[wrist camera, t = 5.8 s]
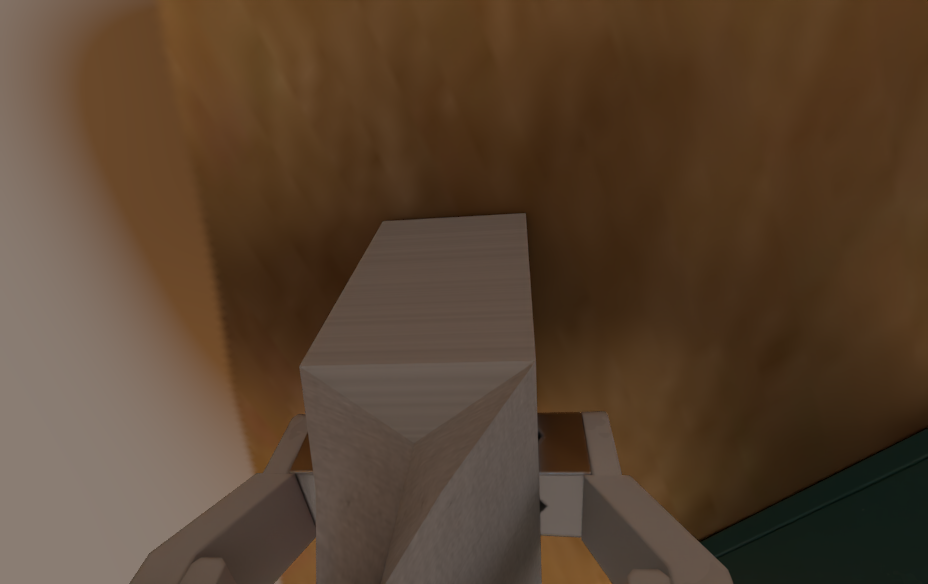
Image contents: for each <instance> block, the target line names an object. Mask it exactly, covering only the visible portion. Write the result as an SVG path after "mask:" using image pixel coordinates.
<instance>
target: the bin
mask: <svg viewBox="0 0 928 584" xmlns="http://www.w3.org/2000/svg"><path fill="white" fill-rule="evenodd" d="M700 543H701V544H702V545H703V546H704V547H705V548H706V549H707V550H708V551H709V552H710V553H711V554H712V555H713V556H714V557H715V558H716V559H717V560H719V561H720V562H721V563H722V564H723V565H724V566H725V567H726V568H727V569H728V571H729V573H730V576H731V579H732V581H733V584H928V428H927V429H925V430H923V431H921V432H919V433H917V434H915V435H913V436H911V437H909V438H907V439H905V440H903V441H901V442H899V443H897V444H895V445H893V446H891V447H889V448H887V449H885V450H883V451H881V452H879V453H877V454H875V455H873V456H871V457H869V458H867V459H865V460H863V461H861V462H859V463H857V464H855V465H853V466H851V467H849V468H847V469H845V470H843V471H841V472H839V473H837V474H835V475H833V476H831V477H829V478H827V479H825V480H823V481H821V482H819V483H817V484H815V485H813V486H811V487H809V488H807V489H805V490H803V491H801V492H799V493H797V494H795V495H793V496H791V497H789V498H787V499H785V500H783V501H781V502H779V503H777V504H775V505H773V506H771V507H769V508H767V509H765V510H763V511H761V512H759V513H757V514H755V515H753V516H751V517H749V518H747V519H745V520H743V521H741V522H739V523H737V524H735V525H733V526H731V527H729V528H727V529H725V530H723V531H721V532H719V533H717V534H715V535H713V536H711V537H709V538H707V539H705V540H703V541H701V542H700Z"/></svg>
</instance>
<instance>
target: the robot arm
mask: <svg viewBox="0 0 928 584" xmlns="http://www.w3.org/2000/svg"><path fill="white" fill-rule="evenodd" d="M537 424H538V463H539V503H540V535H543V536H564V537H582V541H583V542H584V544H585V545H586V547H587V548H588V549H589V551H590V552H591V554H592V555H593V556H594V558H595V559H596V561H597V562H598V564H599V565H600V566H601V568H602V569H603V571H604V572H605V574H606V575H607V576H608V578H609V579H610V581H611V582H612V583H613V584H733V581H732V579H731V576H730V573H729V571H728V569H727V568H726V567H725V566H724V565H723V564H722V563H721V562H720V561H719V560H717V559H716V558H715V557H714V556H713V555H712V554H711V553H710V552H709V551H708V550H707V549H706V548H705V547H704V546H703V545H702V544H701V543H700V542H699V541H698V540H697V539H696V538H695V537H693V536H692V535H691V534H690V533H689V532H688V531H687V530H686V529H685V528H684V527H683V526H682V525H681V524H680V523H679V522H678V521H677V520H676V519H675V518H674V517H673V516H672V515H671V514H669V513H668V512H667V511H666V510H665V509H664V508H663V507H662V506H661V505H660V504H659V503H658V502H657V501H656V500H655V499H654V498H653V497H652V496H651V495H650V494H649V493H648V492H647V491H646V490H644V489H643V488H642V487H641V486H640V485H639V484H638V483H637V482H636V481H635V480H634V479H633V478H632V477H631V476H630V475H622V473H621V468H620V464H619V460H618V455H617V451H616V447H615V443H614V438H613V434H612V430H611V426H610V421H609V417H608V414H607V413H606V412H605V411H596V412H581V413H580V412H551V413H537ZM315 537H316V490H315V482H314V474H313V467H312V459H311V451H310V444H309V436H308V428H307V421H306V414H297V415H296V416H295V417H293V418H292V419H291V421H290V423H289V425H288V427H287V429H286V431H285V433H284V434H283V436H282V438H281V440H280V442H279V444H278V446H277V448H276V450H275V451H274V453H273V455H272V457H271V459H270V461H269V463H268V465H267V467H266V468H265V470H264V472H263V473H256V474H255V475H254V476H252V477H251V478H250V479H248V480H247V481H246V482H244V483H243V484H242V485H240V486H239V487H238V488H236V489H235V490H233V491H232V492H231V493H229V494H228V495H227V496H225V497H224V498H223V499H222V500H220V501H219V502H217V503H216V504H215V505H214V506H212V507H211V508H209V509H208V510H207V511H205V512H204V513H203V514H201V515H200V516H199V517H197V518H196V519H195V520H193V521H192V522H191V523H189V524H188V525H187V526H185V527H184V528H183V529H181V530H180V531H179V532H177V533H176V534H175V535H173V536H172V537H171V538H169V539H168V540H167V541H165V542H164V543H163V544H161V545H160V546H159V547H157V548H156V549H155V550H153V551H152V552H151V553H149V555H148V556H147V558H146V559H145V561H144V562H143V564H142V565H141V567H140V568H139V570H138V572H137V573H136V574H135V576H134V577H133V579H132V581H131V582H130V584H274V583H275V582H276V581H277V580H278V578H279V577H280V576H281V575H282V574H283V573H284V572H285V571H286V570H287V568H288V567H289V566H290V565H291V564H292V563H293V562H294V561H295V560H296V558H297V557H298V556H299V555H300V554H301V553H302V552H303V551H304V550H305V548H306V547H307V546H308V545H309V544H310V543H311V542H312V541H313V540H314V538H315Z"/></svg>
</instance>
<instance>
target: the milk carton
mask: <svg viewBox="0 0 928 584" xmlns="http://www.w3.org/2000/svg"><path fill="white" fill-rule="evenodd" d="M299 367H300V375H301V382H302V390H303V398H304V405H305V413H306V421H307V428H308V436H309V444H310V451H311V459H312V467H313V474H314V482H315V490H316V584H542V581H541V542H540V503H539V463H538V424H537V385H536V355H535V341H534V326H533V311H532V297H531V282H530V268H529V253H528V238H527V224H526V213H518V214H501V215H483V216H465V217H448V218H430V219H413V220H395V221H383V222H382V224H381V225H380V227H379V229H378V231H377V232H376V234H375V236H374V237H373V239H372V241H371V243H370V244H369V246H368V248H367V250H366V251H365V253H364V255H363V257H362V258H361V260H360V262H359V263H358V265H357V267H356V269H355V270H354V272H353V274H352V276H351V277H350V279H349V281H348V283H347V284H346V286H345V288H344V290H343V291H342V293H341V295H340V296H339V298H338V300H337V302H336V303H335V305H334V307H333V309H332V310H331V312H330V314H329V316H328V317H327V319H326V321H325V322H324V324H323V326H322V328H321V329H320V331H319V333H318V335H317V336H316V338H315V340H314V342H313V343H312V345H311V347H310V348H309V350H308V352H307V354H306V355H305V357H304V359H303V361H302V362H301V364H300V366H299Z"/></svg>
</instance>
